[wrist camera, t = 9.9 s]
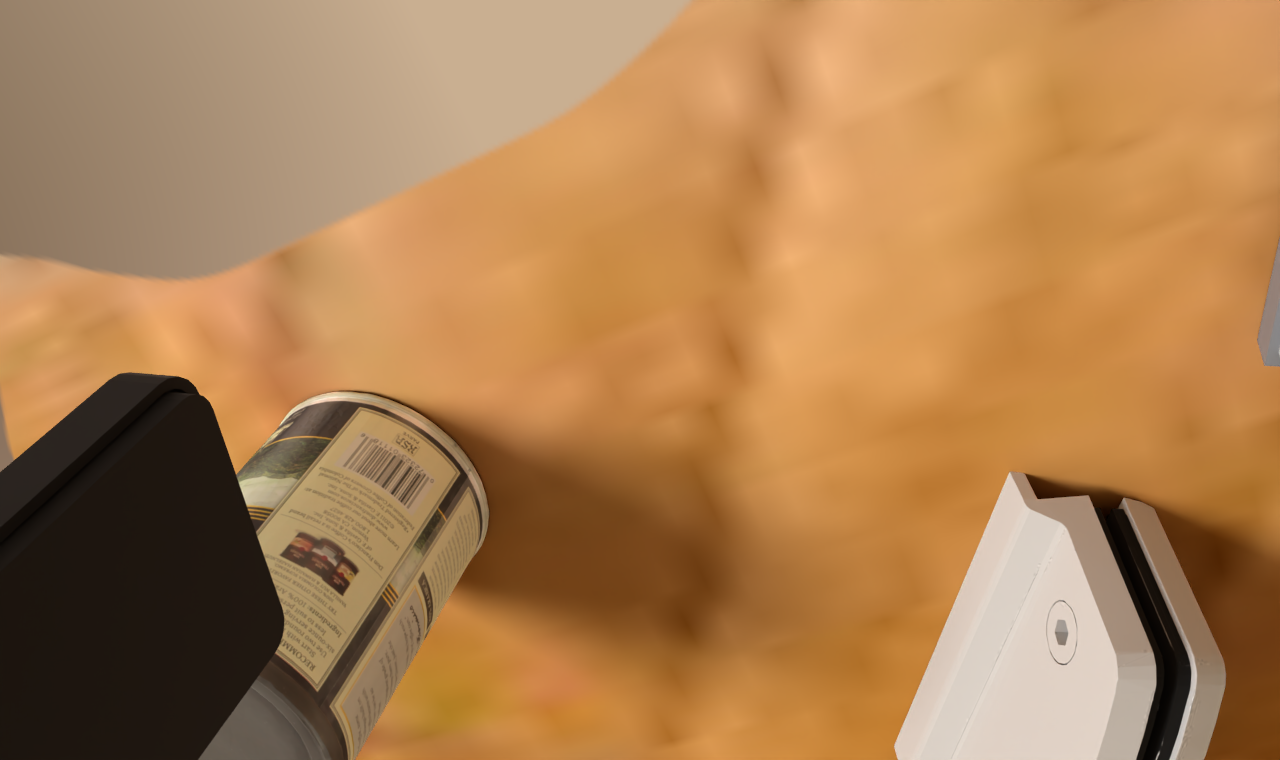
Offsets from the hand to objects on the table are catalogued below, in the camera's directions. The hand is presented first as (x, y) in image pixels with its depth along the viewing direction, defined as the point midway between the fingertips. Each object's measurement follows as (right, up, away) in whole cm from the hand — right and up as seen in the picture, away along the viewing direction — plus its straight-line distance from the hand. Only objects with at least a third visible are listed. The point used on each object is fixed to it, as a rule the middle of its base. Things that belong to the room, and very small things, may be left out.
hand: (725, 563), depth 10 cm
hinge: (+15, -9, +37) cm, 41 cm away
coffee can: (-12, -3, +42) cm, 44 cm away
